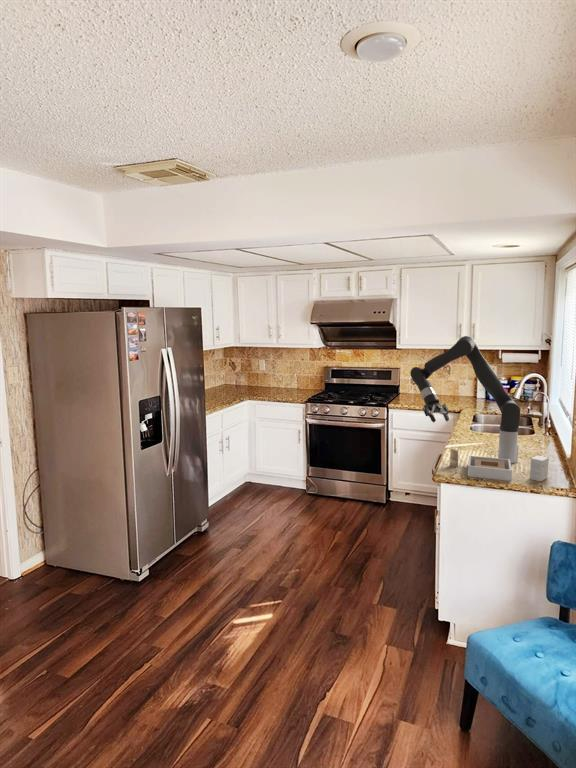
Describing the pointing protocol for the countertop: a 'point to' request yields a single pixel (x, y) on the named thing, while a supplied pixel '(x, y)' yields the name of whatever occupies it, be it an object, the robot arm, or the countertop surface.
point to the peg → (454, 458)
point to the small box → (539, 468)
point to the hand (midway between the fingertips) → (441, 421)
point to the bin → (489, 468)
